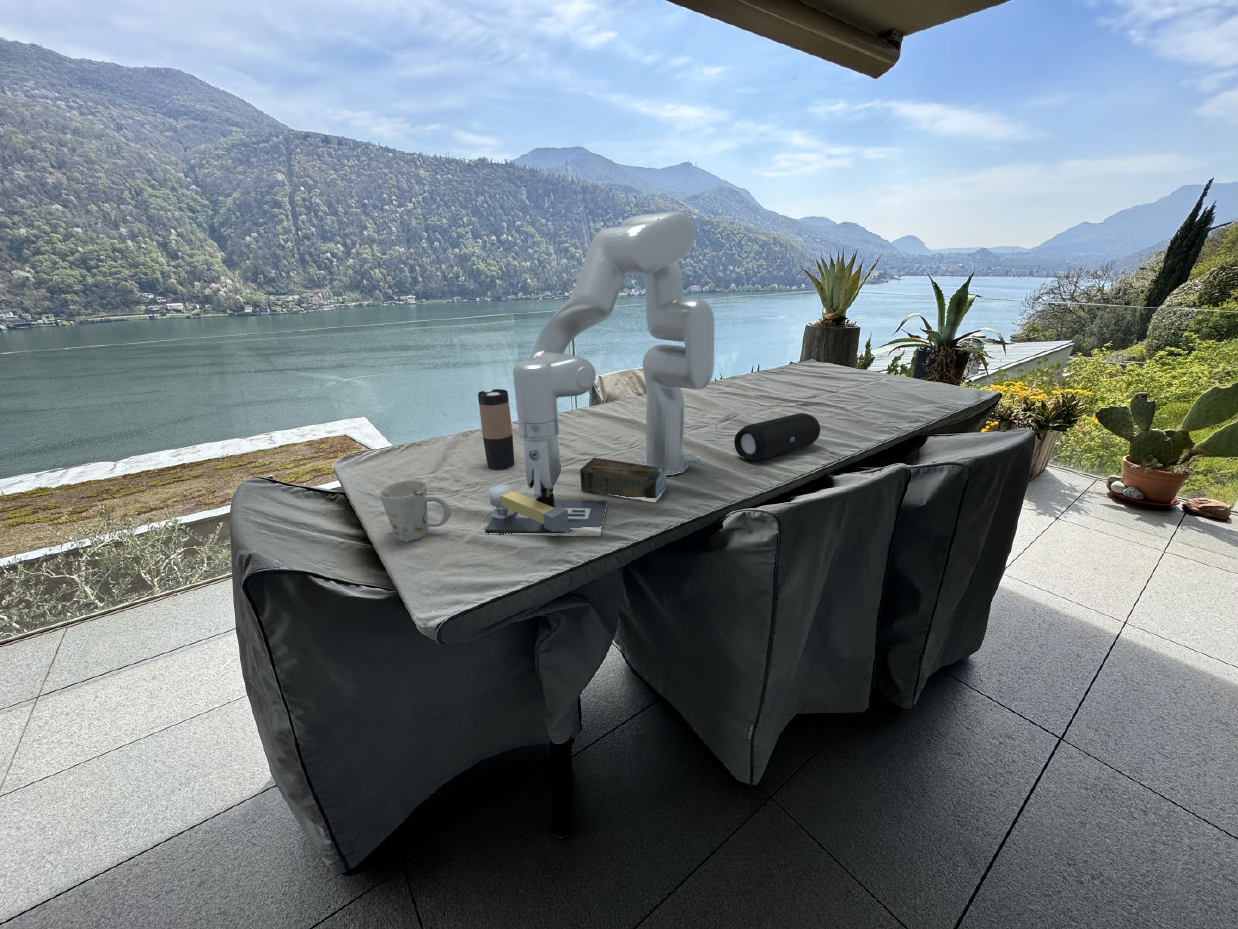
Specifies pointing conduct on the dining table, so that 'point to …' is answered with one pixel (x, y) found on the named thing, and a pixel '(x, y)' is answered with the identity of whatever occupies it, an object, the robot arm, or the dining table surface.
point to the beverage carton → (622, 478)
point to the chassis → (513, 522)
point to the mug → (410, 508)
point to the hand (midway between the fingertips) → (546, 512)
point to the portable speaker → (776, 436)
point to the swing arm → (529, 507)
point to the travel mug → (496, 428)
